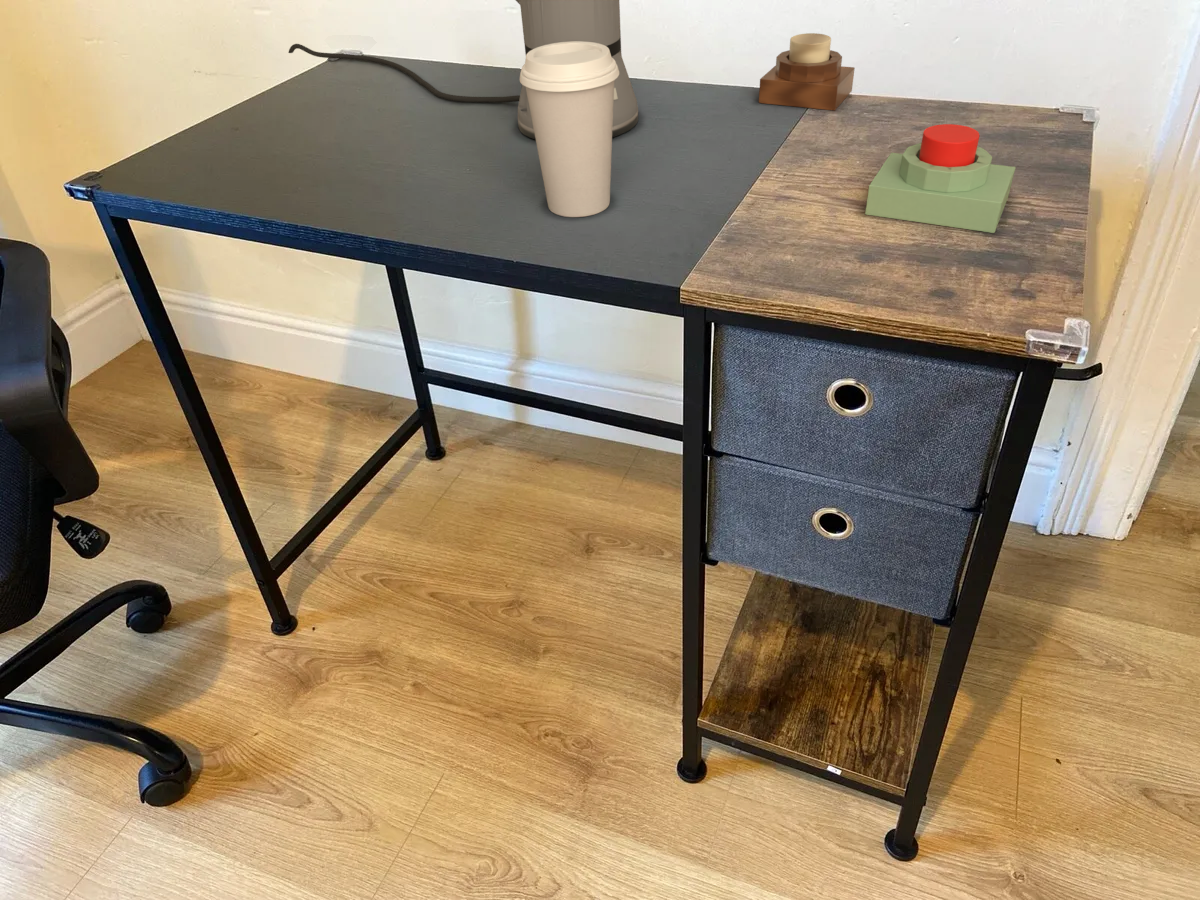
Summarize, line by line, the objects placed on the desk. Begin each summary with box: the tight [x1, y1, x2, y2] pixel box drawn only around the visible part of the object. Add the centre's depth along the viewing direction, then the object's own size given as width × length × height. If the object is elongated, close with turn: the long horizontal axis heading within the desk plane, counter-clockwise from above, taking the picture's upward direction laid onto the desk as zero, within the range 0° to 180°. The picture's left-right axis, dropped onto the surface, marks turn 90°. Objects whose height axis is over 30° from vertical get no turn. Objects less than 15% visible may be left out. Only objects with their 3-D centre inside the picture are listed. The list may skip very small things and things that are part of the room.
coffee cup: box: [519, 41, 619, 218], centre depth 87 cm, size 10×10×15 cm
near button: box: [919, 123, 980, 167], centre depth 83 cm, size 5×5×2 cm
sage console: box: [864, 141, 1016, 234], centre depth 85 cm, size 12×9×5 cm
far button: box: [789, 32, 832, 63], centre depth 110 cm, size 5×5×2 cm
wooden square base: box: [758, 49, 855, 111], centre depth 113 cm, size 10×8×5 cm
